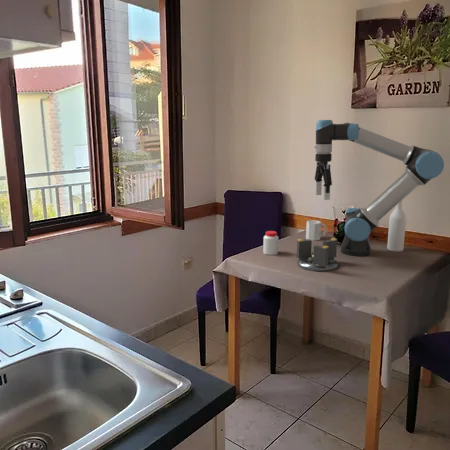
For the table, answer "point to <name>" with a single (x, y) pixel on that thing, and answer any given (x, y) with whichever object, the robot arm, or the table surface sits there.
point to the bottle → (396, 229)
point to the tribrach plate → (311, 266)
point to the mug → (314, 230)
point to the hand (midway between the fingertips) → (322, 197)
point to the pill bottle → (270, 243)
